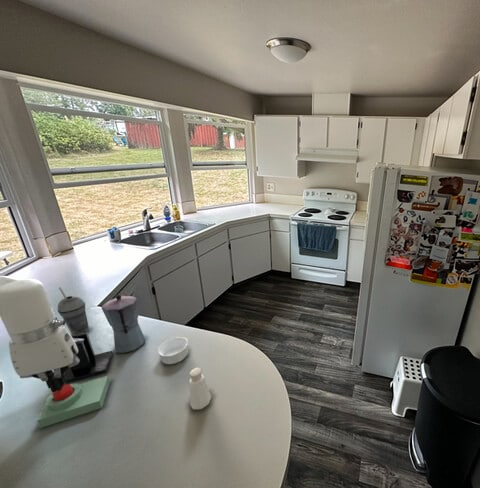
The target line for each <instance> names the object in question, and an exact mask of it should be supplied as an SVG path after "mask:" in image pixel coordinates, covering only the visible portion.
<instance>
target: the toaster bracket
mask: <svg viewBox="0 0 480 488" xmlns="http://www.w3.org/2000/svg"><path fill="white" fill-rule="evenodd" d="M70 335H71V336H72V338H84V343H83V340H81V341H76V342H75V344H76V346H77V348H78V354H75V355H76V356H77V357H78V358H79V359H80V361H79V363H78V364H77V365H75V366H73V367H70V368H68V369H67V370H66V371H65V372H64V374H65V377H66V379H67V381H66V384H65V385H68V384H71V383H73V382H77V381H80V380H81V381H82V380H84V379H87V378H91V377H95V376H99V375H101V374H106V373H107V371H108V368H109V366H110V363H111V360H112V357H113V354H114V352H113V350H108V351H105V352H101V353H97V354H95V351H94V348H93V345H92V343H91V339H90V336H89V334H88V333H87V332H85V333H80V334H75V335H72V334H70Z"/></svg>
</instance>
